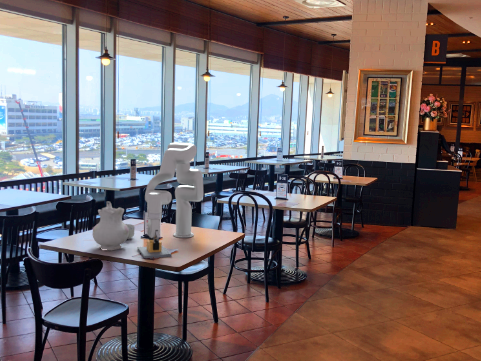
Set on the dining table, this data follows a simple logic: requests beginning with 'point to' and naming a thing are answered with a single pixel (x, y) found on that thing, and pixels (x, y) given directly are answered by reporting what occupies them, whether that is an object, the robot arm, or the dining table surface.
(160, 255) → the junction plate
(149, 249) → the yellow rounded block
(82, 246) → the dining table surface
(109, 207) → the ceramic pitcher
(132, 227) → the teacup
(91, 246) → the dining table surface
